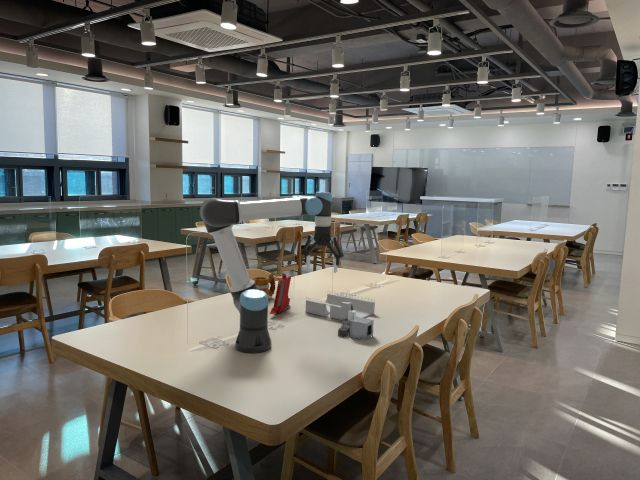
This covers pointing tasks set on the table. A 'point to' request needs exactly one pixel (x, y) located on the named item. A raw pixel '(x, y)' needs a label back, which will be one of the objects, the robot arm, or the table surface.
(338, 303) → the skate ramp
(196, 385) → the table surface
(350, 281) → the table surface
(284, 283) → the tool
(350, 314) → the ratchet
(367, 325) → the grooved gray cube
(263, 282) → the mug
